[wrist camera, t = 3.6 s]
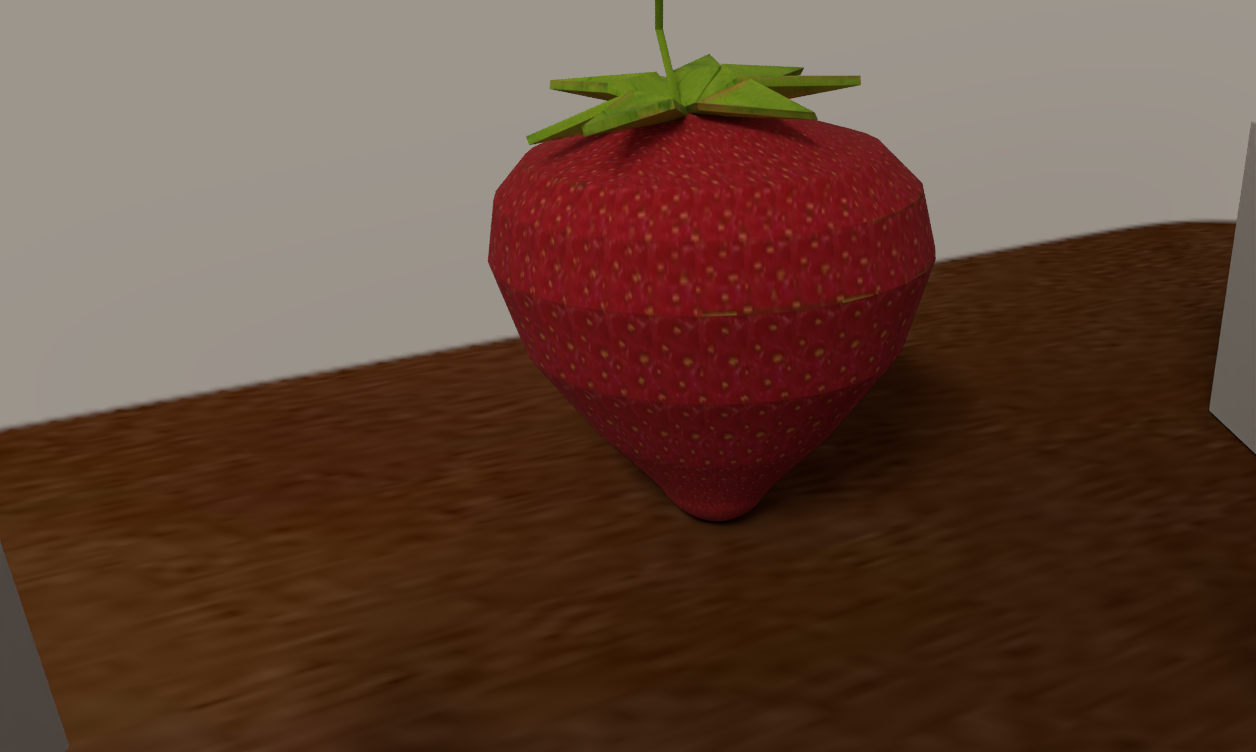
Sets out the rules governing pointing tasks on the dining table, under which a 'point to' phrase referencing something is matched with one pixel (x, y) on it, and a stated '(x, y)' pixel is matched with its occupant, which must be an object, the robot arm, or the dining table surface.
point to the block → (1240, 320)
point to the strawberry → (710, 270)
